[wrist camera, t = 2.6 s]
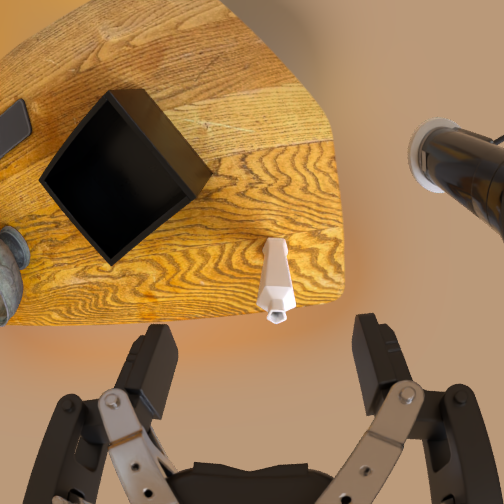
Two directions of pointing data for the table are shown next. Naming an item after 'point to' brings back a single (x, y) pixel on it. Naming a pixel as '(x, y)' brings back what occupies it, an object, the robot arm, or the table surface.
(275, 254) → the perfume bottle
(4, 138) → the smartphone
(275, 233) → the table surface
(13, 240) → the bowl
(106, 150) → the open box
